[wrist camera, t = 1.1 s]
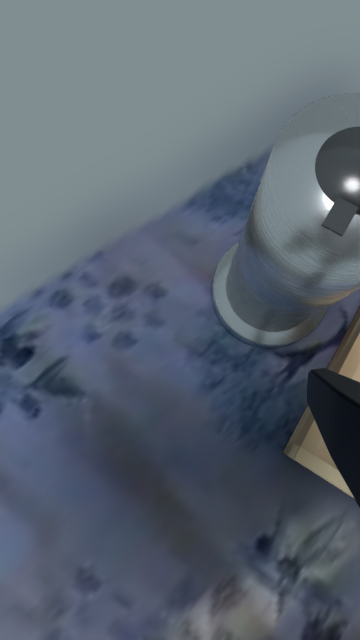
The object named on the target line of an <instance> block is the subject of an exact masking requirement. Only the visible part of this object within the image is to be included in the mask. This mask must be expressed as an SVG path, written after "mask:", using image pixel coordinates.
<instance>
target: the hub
mask: <svg viewBox="0 0 360 640" xmlns="http://www.w3.org/2000/svg"><path fill="white" fill-rule="evenodd" d="M359 288H360V93H344V94H338V95H333V96H329V97H325V98H322V99H320V100H317V101H315V102H313V103H311V104H309V105H307V106H305V107H304V108H302V109H301V110H300V111H298V112H297V113H296V114H295V115H293V116H292V118H290V119H289V120H288V122H287V123H286V124H285V125H284V127H283V128H282V129H281V131H280V133H279V135H278V137H277V139H276V141H275V144H274V147H273V150H272V152H271V155H270V158H269V161H268V163H267V166H266V169H265V172H264V174H263V177H262V180H261V183H260V186H259V188H258V191H257V194H256V197H255V199H254V202H253V205H252V208H251V210H250V213H249V216H248V219H247V221H246V224H245V227H244V230H243V232H242V235H241V238H240V241H239V242H238V243H236V244H235V245H234V246H232V247H231V248H230V249H229V250H228V251H227V252H226V253H225V254H224V256H223V257H222V258H221V260H220V262H219V264H218V266H217V269H216V271H215V275H214V279H213V284H212V292H211V293H212V303H213V307H214V310H215V313H216V315H217V317H218V319H219V321H220V322H221V324H222V325H223V326H224V327H225V329H226V330H227V331H228V332H229V333H231V334H232V335H233V336H234V337H236V338H237V339H239V340H240V341H242V342H244V343H247V344H249V345H252V346H256V347H261V348H277V347H282V346H286V345H289V344H291V343H293V342H295V341H297V340H299V339H302V338H303V337H305V336H307V335H308V334H310V333H311V332H312V331H313V330H314V329H315V328H316V327H317V326H318V325H319V324H320V322H321V321H322V319H323V318H324V316H325V314H326V311H327V308H328V307H329V306H331V305H333V304H334V303H336V302H338V301H339V300H341V299H343V298H344V297H346V296H348V295H349V294H351V293H352V292H354V291H356V290H357V289H359Z"/></svg>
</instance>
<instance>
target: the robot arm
mask: <svg viewBox="0 0 360 640" xmlns="http://www.w3.org/2000/svg"><path fill="white" fill-rule="evenodd" d="M307 402H308V405H309V408H310V410H311V413H312V415H313V417H314V419H315V422H316V424H317V426H318V429H319V431H320V433H321V436H322V438H323V440H324V442H325V445H326V447H327V449H328V451H329V454H330V456H331V458H332V460H333V461H334V463H335V465H336V467H337V469H338V470H339V472H340V474H341V476H342V477H343V479H344V481H345V483H346V484H347V486H348V488H349V490H350V491H351V493H352V495H353V497H354V498H355V500H356V502H357V504H358V505H359V507H360V382H358V381H355V380H353V379H351V378H348V377H346V376H343V375H341V374H338V373H336V372H334V371H331V370H329V369H326V368H322V369H314V370H311V371H310V372H309V374H308V385H307Z"/></svg>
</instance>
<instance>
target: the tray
mask: <svg viewBox="0 0 360 640" xmlns="http://www.w3.org/2000/svg"><path fill="white" fill-rule="evenodd" d="M327 369H329V370H331V371H334V372H336V373H338V374H341V375H343V376H346V377H348V378H351V379H353V380H355V381H358V382H360V307H359V309H358V311H357V312H356V314H355V316H354V318H353V320H352V322H351V324H350V326H349V328H348V330H347V331H346V333H345V335H344V337H343V339H342V341H341V343H340V345H339V347H338V349H337V350H336V352H335V354H334V356H333V358H332V360H331V362H330V364H329V366H328V368H327ZM283 454H285V455H287V456H288V457H290V458H291V459H293V460H294V461H296V462H297V463H299V464H301V465H302V466H304V467H305V468H307V469H308V470H310V471H312V472H313V473H315V474H316V475H318V476H319V477H321V478H323V479H324V480H326V481H327V482H329V483H330V484H332V485H333V486H335V487H337V488H338V489H340V490H341V491H343V492H344V493H346V494H348V495H349V496H351V497H352V498H354V497H353V495H352V493H351V491H350V490H349V488H348V486H347V484H346V483H345V481H344V479H343V477H342V476H341V474H340V472H339V470H338V469H337V467H336V465H335V463H334V461H333V460H332V458H331V456H330V454H329V451H328V449H327V447H326V445H325V442H324V440H323V438H322V436H321V433H320V431H319V429H318V426H317V424H316V422H315V419H314V417H313V415H312V413H311V410H310V408H309V405H308V406H307V407H306V409H305V411H304V413H303V415H302V417H301V419H300V421H299V423H298V425H297V426H296V428H295V430H294V432H293V434H292V436H291V438H290V440H289V442H288V443H287V445H286V447H285V449H284V451H283ZM354 499H355V498H354Z"/></svg>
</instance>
